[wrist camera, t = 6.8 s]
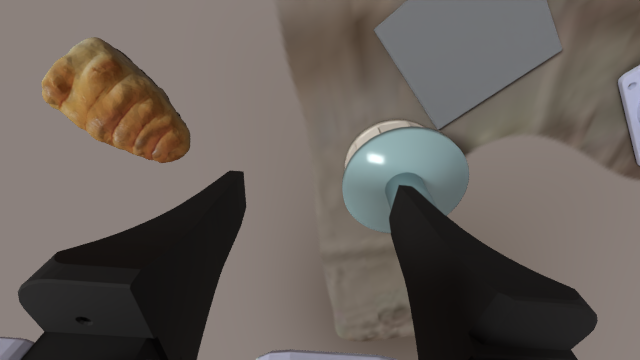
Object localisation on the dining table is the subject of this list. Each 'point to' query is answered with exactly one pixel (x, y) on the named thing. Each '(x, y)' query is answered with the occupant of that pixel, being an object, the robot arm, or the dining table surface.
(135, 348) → the robot arm
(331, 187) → the dining table surface
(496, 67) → the mat
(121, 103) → the pastry
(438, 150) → the lid
